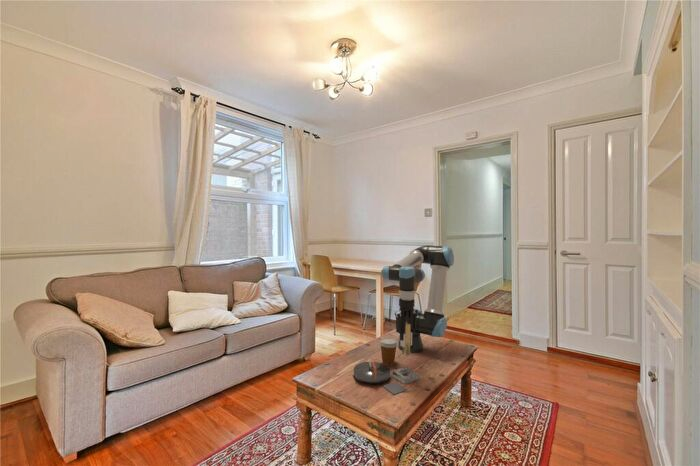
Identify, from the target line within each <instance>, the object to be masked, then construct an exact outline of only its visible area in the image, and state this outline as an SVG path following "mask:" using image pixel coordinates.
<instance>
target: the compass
mask: <svg viewBox="0 0 700 466" xmlns="http://www.w3.org/2000/svg"><path fill="white" fill-rule="evenodd" d="M353 377H354V378H356V380H358V381H361V382H362V383H366V384H381V383H384V382H387V381H388V380H389V379H390V377H391V369H390V367H389V366H388V365H385V364H383V362H379V361H363V362H359V363H357V364H356V365H355V366H354V367H353Z"/></svg>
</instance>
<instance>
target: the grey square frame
mask: <svg viewBox="0 0 700 466" xmlns="http://www.w3.org/2000/svg"><path fill="white" fill-rule="evenodd" d="M405 375H406V376H405ZM392 377H394V378H395V379H397V380H398V381H399V382H401V383H402V384H404V385H406V384H410V383H411V382H414V381H418V380H419V379H420V378H419V373H418V372H416V371H414V370H412V369H410V368H409V367H407V366H404V367H401V368H398V369H395V370H393V371H392Z"/></svg>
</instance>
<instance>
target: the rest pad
mask: <svg viewBox="0 0 700 466" xmlns="http://www.w3.org/2000/svg"><path fill="white" fill-rule="evenodd" d="M382 387H383V388H384V389H385V390H387V391H388V392H389V393H390V394H392V395H393V396H395V395H398V394H400V393H404V392H405V391H408V388H406V387H405V386H403V385H402V384H400V383H399V382H398V381H393V382H389V383H387V384H384V385H382Z"/></svg>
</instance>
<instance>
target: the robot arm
mask: <svg viewBox="0 0 700 466" xmlns="http://www.w3.org/2000/svg"><path fill="white" fill-rule="evenodd" d="M454 258H455V257H454V252H453V249H452V247H450V246H444V245H422V246H419V247H417V248H415V249H413V250H411V251H410V252H409V254H408V255H406V256H404V257H403V258H402V259H401V260H399V261H397V262H396V263H395V264H393V265H384V266H383V267H382V269H381V277H382V278H383V279H384V280H388V281H395V282H398V283H399V286H398V297H399V299H398V306H399V309H398V310H399V311H398V312H394V315H395V329H396V331H395V332H396V333H398V334H399V340H398V342H397V347H398V348H399V350H401V351H402V347H405V334H404V331H405V324H406V322H408V323H410V324H411V333H410V353H421V351H423V349H424V344H423V339H422V336H421V335H426V336H430V337H435V338H442V337H443V336H444V334H445V333H446V330H447V326H448V319H447V318H446V317H445V313H444V312H443V307H444V306H443V305H444V298H445V296H444V295H445V290H446V289H445V288H446V281H447V280H446V278H447V271H449V270H450V267H452V266H453V265H454V263H455V259H454ZM421 264H427V265H429V267H430V268H431V275H430V283H429V292H428V301H427V306H426V309H425V310H424V312H423V313H422V311H421V310H420V309H418V308H417V309H416V308H415V303H416V302H415V287H416V286H415V285H416V284H419V283H421V282H422V281H424V279H426V272H425V271H424V269H423V268H420V267H416V266H419V265H421Z"/></svg>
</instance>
